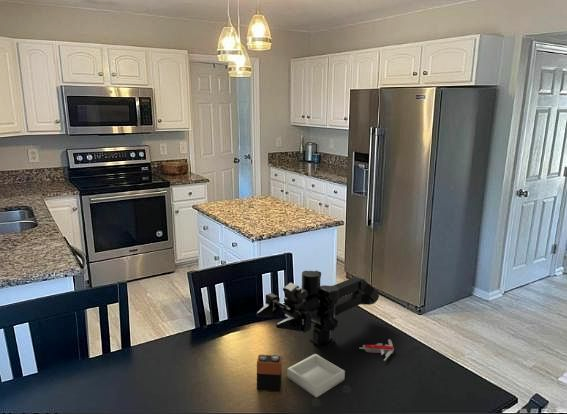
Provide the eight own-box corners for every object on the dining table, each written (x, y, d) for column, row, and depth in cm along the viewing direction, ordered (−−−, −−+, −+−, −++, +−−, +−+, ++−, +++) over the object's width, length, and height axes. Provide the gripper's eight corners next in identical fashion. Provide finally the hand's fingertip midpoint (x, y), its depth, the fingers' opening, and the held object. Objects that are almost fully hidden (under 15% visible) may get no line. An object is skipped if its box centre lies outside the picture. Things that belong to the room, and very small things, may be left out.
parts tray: (315, 362, 132) (315, 353, 131) (344, 379, 123) (344, 370, 122) (287, 377, 124) (287, 368, 123) (316, 397, 115) (316, 387, 115)
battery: (280, 392, 117) (280, 361, 115) (256, 391, 117) (256, 359, 115) (281, 383, 121) (282, 352, 119) (258, 381, 122) (258, 351, 120)
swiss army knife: (360, 362, 132) (360, 356, 132) (357, 339, 146) (357, 334, 145) (397, 365, 131) (397, 359, 131) (390, 342, 145) (391, 336, 144)
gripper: (284, 273, 139) (247, 285, 129) (325, 291, 126) (288, 306, 115) (284, 304, 142) (247, 318, 131) (324, 324, 128) (287, 342, 118)
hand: (266, 320), depth 124 cm, fingers open, 9 cm apart
